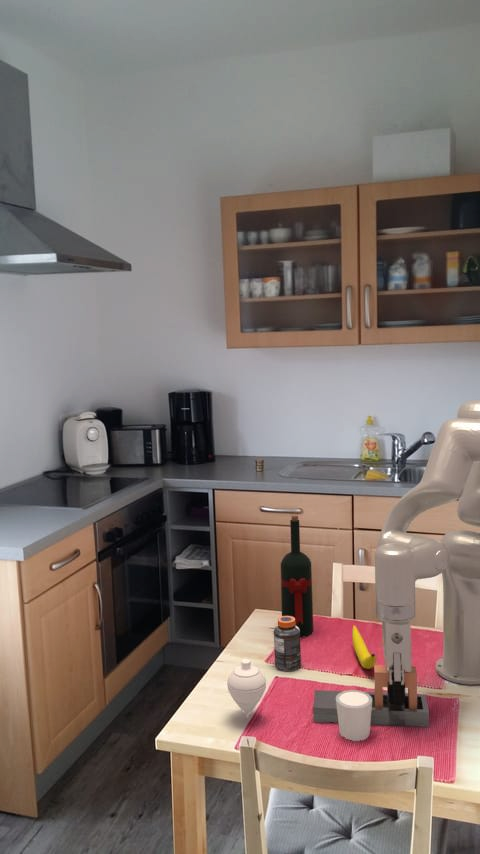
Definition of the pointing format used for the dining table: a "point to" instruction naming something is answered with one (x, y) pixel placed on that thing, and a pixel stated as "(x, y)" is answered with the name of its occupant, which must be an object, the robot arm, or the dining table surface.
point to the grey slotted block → (374, 710)
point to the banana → (362, 650)
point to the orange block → (383, 679)
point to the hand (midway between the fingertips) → (396, 697)
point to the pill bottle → (287, 644)
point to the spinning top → (246, 685)
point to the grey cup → (354, 714)
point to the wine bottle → (297, 583)
